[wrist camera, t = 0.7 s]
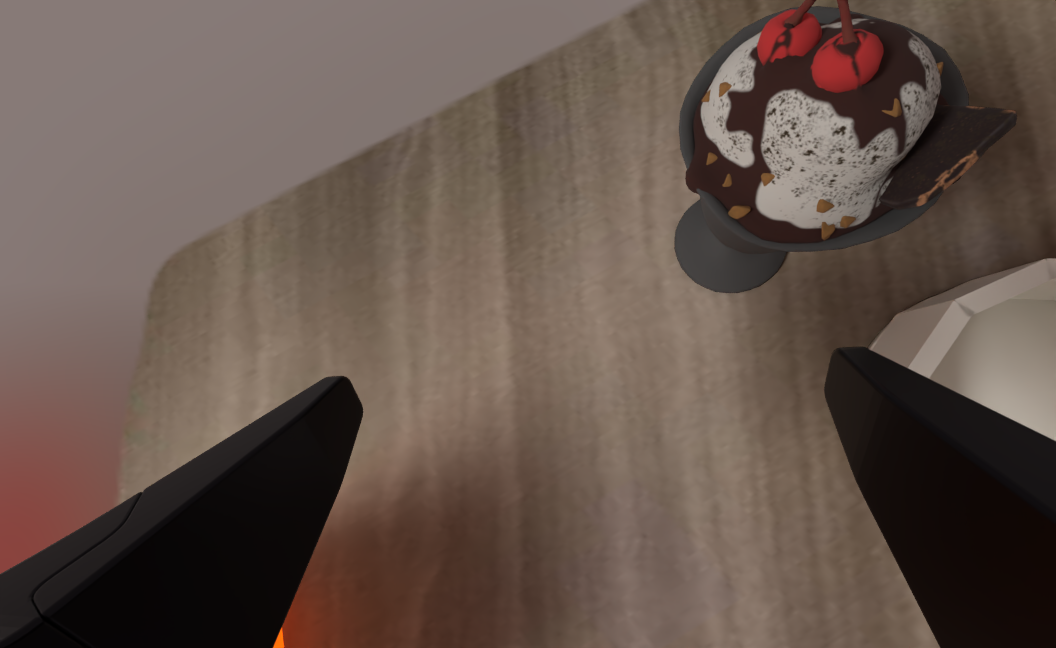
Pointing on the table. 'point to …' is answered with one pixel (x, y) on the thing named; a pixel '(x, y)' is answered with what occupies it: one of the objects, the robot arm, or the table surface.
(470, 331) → the table surface
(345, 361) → the table surface
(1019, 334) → the white faceted bowl
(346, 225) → the table surface
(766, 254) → the sundae
